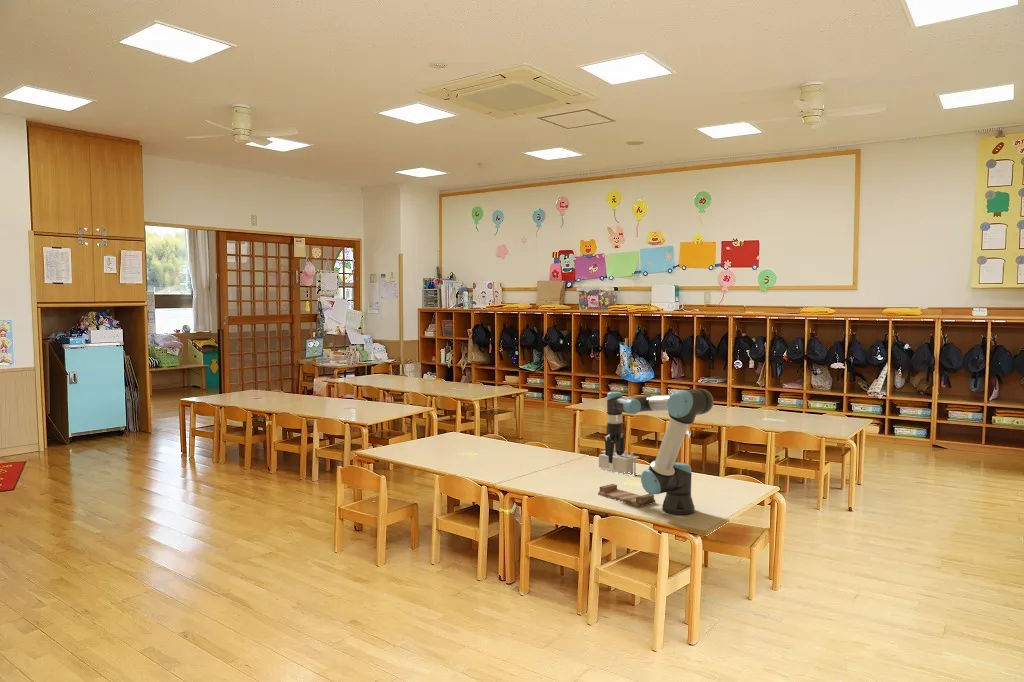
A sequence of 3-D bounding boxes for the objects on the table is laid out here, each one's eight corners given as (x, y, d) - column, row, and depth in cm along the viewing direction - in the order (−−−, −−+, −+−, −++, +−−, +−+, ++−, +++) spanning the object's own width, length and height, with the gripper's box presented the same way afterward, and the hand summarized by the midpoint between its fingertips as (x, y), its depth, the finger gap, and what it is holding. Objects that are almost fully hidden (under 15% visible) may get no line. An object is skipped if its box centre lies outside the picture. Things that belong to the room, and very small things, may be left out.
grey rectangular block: (631, 471, 353) (631, 458, 353) (626, 472, 351) (626, 459, 350) (603, 466, 367) (603, 453, 366) (598, 467, 364) (598, 454, 364)
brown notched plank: (655, 502, 354) (655, 494, 354) (639, 506, 347) (639, 498, 347) (614, 490, 376) (614, 483, 376) (598, 494, 369) (598, 487, 369)
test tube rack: (639, 475, 410) (639, 453, 409) (634, 476, 407) (634, 454, 406) (605, 468, 428) (605, 446, 427) (600, 469, 425) (600, 447, 424)
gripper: (620, 419, 366) (620, 464, 367) (597, 423, 355) (597, 469, 356) (631, 421, 360) (631, 467, 361) (608, 425, 349) (609, 472, 350)
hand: (614, 468), depth 359 cm, fingers closed on grey rectangular block, 4 cm apart
